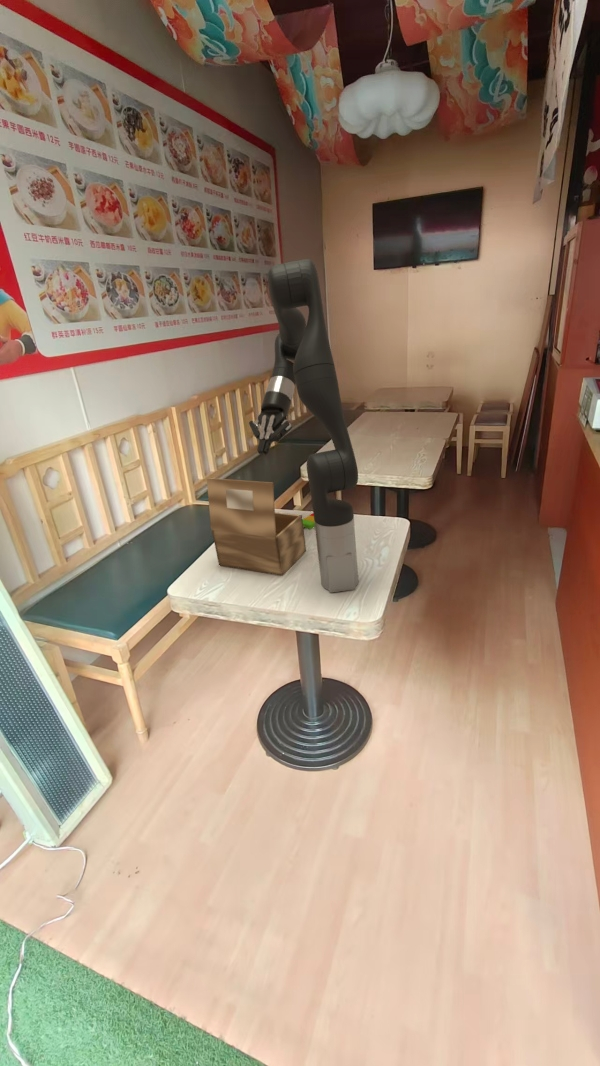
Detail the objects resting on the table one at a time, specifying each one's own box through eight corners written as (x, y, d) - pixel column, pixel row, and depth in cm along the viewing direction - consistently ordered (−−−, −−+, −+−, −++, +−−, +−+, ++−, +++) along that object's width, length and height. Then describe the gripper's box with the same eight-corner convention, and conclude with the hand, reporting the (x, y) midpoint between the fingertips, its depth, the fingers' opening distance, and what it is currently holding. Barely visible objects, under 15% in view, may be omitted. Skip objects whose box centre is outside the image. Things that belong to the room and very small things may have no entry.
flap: (207, 478, 134) (206, 478, 133) (273, 482, 125) (272, 483, 124) (212, 529, 138) (210, 529, 137) (276, 537, 129) (274, 537, 128)
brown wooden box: (246, 543, 154) (240, 509, 149) (306, 551, 145) (301, 515, 140) (219, 565, 143) (211, 529, 138) (282, 575, 134) (276, 537, 129)
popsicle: (329, 519, 163) (329, 513, 163) (298, 538, 154) (297, 532, 153) (316, 516, 167) (315, 510, 166) (284, 534, 157) (284, 528, 156)
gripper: (251, 390, 142) (234, 446, 137) (293, 389, 136) (277, 448, 131) (264, 405, 148) (247, 459, 143) (305, 404, 142) (289, 461, 137)
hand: (261, 454), depth 137 cm, fingers closed
